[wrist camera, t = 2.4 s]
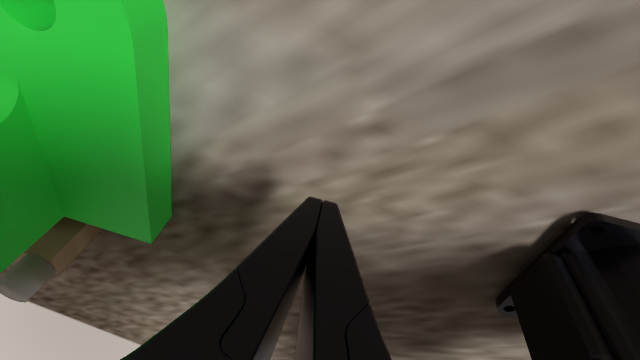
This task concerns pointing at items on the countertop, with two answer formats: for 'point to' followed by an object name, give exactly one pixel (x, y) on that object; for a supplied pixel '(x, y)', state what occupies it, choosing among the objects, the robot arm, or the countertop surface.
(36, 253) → the dock bracket
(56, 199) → the mechanical part
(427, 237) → the countertop surface
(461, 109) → the countertop surface
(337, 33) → the countertop surface
